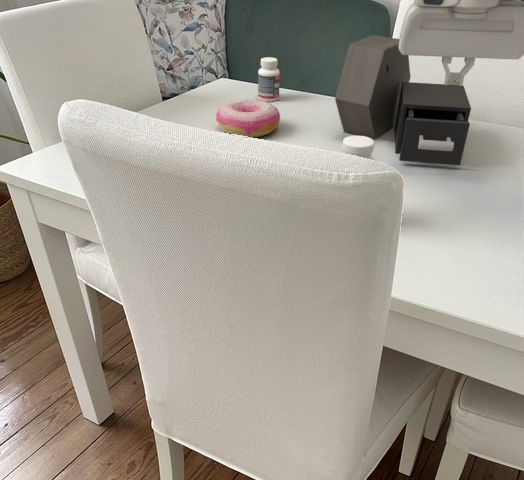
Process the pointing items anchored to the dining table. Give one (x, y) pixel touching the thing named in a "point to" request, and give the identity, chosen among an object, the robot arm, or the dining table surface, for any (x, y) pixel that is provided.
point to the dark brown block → (371, 86)
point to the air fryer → (429, 102)
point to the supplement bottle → (359, 146)
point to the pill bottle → (268, 80)
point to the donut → (248, 117)
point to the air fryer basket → (433, 136)
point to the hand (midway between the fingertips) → (453, 84)
